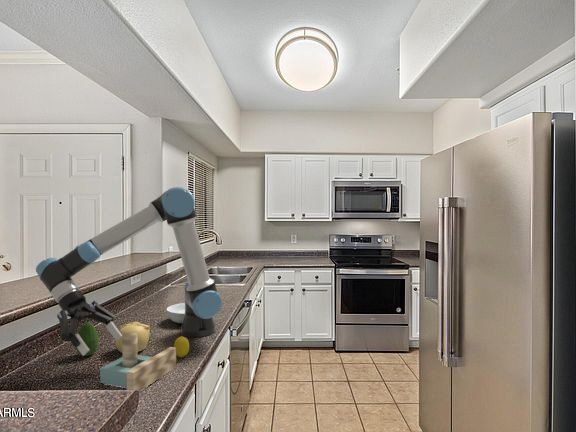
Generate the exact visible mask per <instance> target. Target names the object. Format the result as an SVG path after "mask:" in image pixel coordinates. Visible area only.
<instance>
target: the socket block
mask: <svg viewBox="0 0 576 432" xmlns="http://www.w3.org/2000/svg"><path fill="white" fill-rule="evenodd" d="M152 357H153V356H147V355H141V354H140V355H139V354H137V365H136V366H138V365H139V364H141V363H143V362H145V361H146V360H148V359H150V358H152ZM136 366H134V367H136ZM134 367H133V368H134ZM99 369H100V372H99V374H100V375H99V377H100V379H99V380H100V381H99V382H100V383H105V384H112V385H117V386H121V387H125V388H127V371H129V370H131V369H132V368H125V367H122V356H121V357H119V358H118V359H116V360H113V361H111V362H109V363H108V364H105V365H104V366H101V367H100V368H99ZM100 383H99V384H100Z"/></svg>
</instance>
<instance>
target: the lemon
mask: <svg viewBox="0 0 576 432" xmlns="http://www.w3.org/2000/svg"><path fill="white" fill-rule="evenodd" d="M173 343H174V344H173V347H174V348H176V357H179V358H181V359H182V357H183V358H184V357H186V356H187V355H188V353H189V350H190V341H189V340H188V337H186V336H184V335H181V336H180V337H178V338H177V337H176V339H175V341H174V342H173Z"/></svg>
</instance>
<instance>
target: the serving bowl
mask: <svg viewBox="0 0 576 432" xmlns="http://www.w3.org/2000/svg"><path fill="white" fill-rule="evenodd" d="M166 313H167V314H166V315H167V317H168V318H169V319H170V321H172V322H174V323H177V324H182V323H183V320H184V317H185V302H181V303H176V304H172V305H169V306H168V307H167V308H166Z"/></svg>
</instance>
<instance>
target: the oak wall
mask: <svg viewBox="0 0 576 432" xmlns="http://www.w3.org/2000/svg"><path fill="white" fill-rule="evenodd" d="M151 357H152V358H150V359H148V360H146V361H145V362H143V363H141V364H139V365H138V366H136V367H134V368H132V369H131V370H129V371H127V389H126V391H127V390H138V391H139V390H140V391H141V390H142V389H144V388H145V387H147V386H148V385H150V384H152V383H153V382H155V381H156V380H158V379H159V378H161V377H162V376H163V375H165V374H166V373H168V372H169V371H171V370H172V369H174V368H175V367H176V368H177V355H176V348H174V346H169V347H167V348H166V349H163V350H162V351H161V352H159V353H157V354H155V355H154V356H151ZM174 370H175V369H174ZM171 372H172V371H171ZM168 374H169V373H168ZM165 376H166V375H165ZM162 378H163V377H162ZM162 378H161V379H162ZM159 380H160V379H159ZM159 380H158V381H159ZM156 382H157V381H156ZM156 382H155V383H156ZM153 384H154V383H153ZM153 384H152V385H153ZM140 391H139V392H140ZM140 393H141V392H140Z"/></svg>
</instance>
